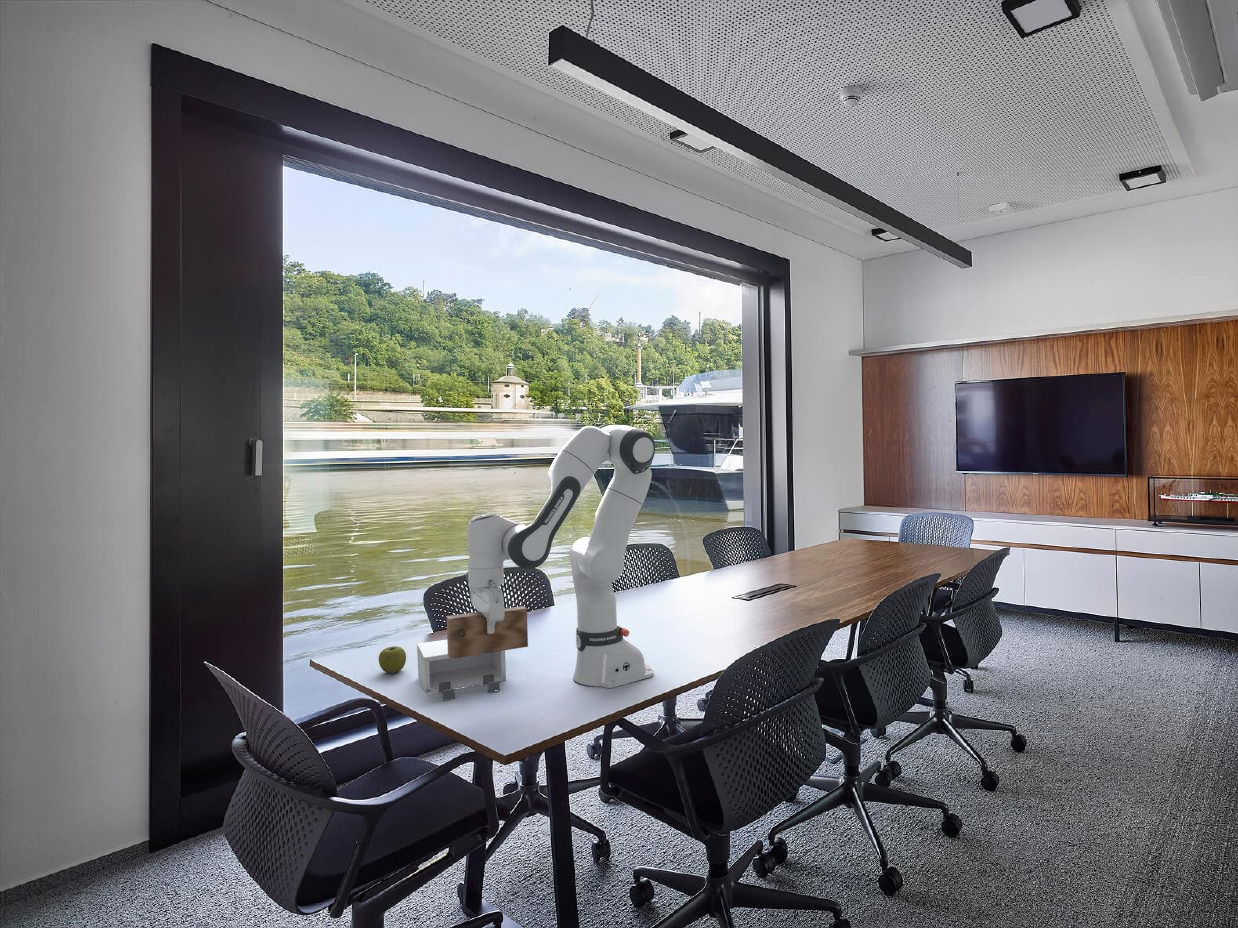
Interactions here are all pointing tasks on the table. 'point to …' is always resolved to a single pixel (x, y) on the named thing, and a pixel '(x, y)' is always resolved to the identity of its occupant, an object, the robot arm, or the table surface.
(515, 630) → the door
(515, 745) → the table surface
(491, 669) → the cabinet
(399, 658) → the apple
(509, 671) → the table surface
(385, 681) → the table surface
